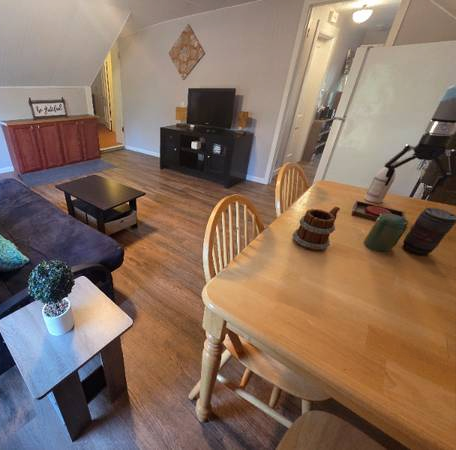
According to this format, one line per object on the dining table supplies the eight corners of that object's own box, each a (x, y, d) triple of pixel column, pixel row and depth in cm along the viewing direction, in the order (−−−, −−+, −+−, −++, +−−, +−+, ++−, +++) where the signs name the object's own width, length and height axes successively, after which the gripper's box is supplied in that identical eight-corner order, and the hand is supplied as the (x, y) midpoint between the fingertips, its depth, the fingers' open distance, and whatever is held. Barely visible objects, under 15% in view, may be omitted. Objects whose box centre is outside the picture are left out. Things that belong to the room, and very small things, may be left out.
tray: (401, 215, 106) (404, 211, 105) (402, 228, 98) (405, 224, 97) (354, 204, 116) (356, 200, 114) (351, 214, 107) (353, 210, 106)
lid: (389, 213, 107) (392, 209, 106) (389, 221, 101) (391, 217, 100) (365, 207, 112) (367, 204, 111) (364, 214, 106) (366, 211, 105)
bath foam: (375, 197, 122) (396, 157, 112) (385, 203, 116) (408, 162, 106) (360, 196, 123) (380, 157, 112) (369, 202, 117) (391, 161, 106)
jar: (391, 245, 88) (409, 217, 82) (391, 256, 83) (410, 227, 77) (364, 237, 92) (379, 210, 86) (362, 247, 87) (378, 219, 81)
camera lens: (400, 251, 85) (425, 214, 77) (398, 241, 90) (422, 204, 83) (432, 260, 81) (462, 222, 73) (428, 249, 86) (456, 212, 78)
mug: (282, 238, 91) (299, 201, 84) (305, 234, 98) (323, 200, 91) (311, 256, 82) (333, 216, 75) (334, 250, 89) (356, 214, 82)
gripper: (393, 131, 93) (368, 184, 104) (493, 140, 79) (453, 199, 90) (393, 128, 98) (369, 179, 109) (487, 136, 84) (449, 193, 95)
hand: (407, 188), depth 99 cm, fingers open, 13 cm apart
